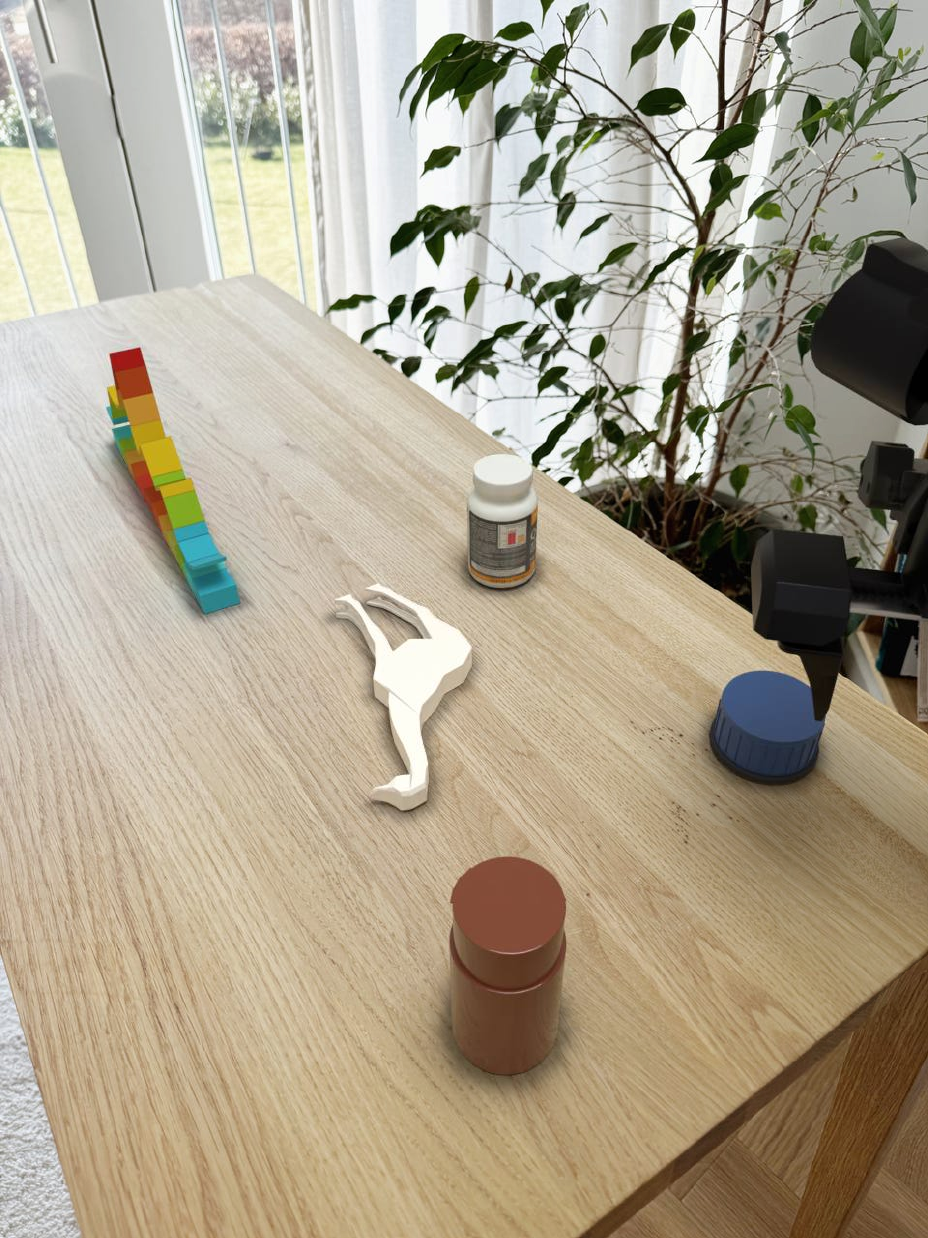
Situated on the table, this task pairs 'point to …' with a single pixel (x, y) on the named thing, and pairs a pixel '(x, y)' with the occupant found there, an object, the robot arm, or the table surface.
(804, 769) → the coaster
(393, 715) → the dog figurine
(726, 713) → the lid
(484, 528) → the pill bottle
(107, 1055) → the table surface
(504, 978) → the jar
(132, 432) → the chart
